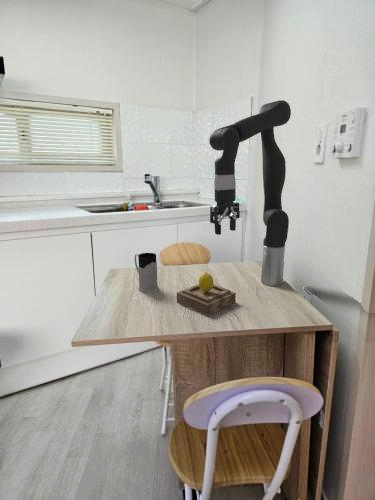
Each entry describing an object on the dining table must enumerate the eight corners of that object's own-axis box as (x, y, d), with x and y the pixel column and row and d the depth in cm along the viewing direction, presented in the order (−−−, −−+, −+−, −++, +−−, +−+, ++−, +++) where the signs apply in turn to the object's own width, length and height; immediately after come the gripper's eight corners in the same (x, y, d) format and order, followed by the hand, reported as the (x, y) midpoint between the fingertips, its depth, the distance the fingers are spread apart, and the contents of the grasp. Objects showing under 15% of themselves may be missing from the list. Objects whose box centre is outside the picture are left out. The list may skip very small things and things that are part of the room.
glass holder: (145, 294, 128) (144, 259, 124) (127, 284, 138) (126, 252, 134) (162, 288, 133) (161, 255, 130) (144, 280, 144) (143, 249, 140)
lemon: (198, 290, 121) (197, 270, 119) (212, 289, 121) (212, 270, 119) (199, 295, 116) (199, 275, 114) (214, 294, 116) (214, 274, 114)
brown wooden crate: (205, 291, 130) (205, 280, 129) (235, 302, 119) (235, 290, 118) (176, 302, 120) (176, 290, 119) (207, 315, 109) (207, 302, 107)
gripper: (228, 186, 118) (229, 228, 122) (203, 189, 109) (205, 234, 113) (245, 186, 113) (245, 230, 117) (220, 189, 103) (221, 237, 107)
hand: (225, 232), depth 115 cm, fingers open, 8 cm apart
